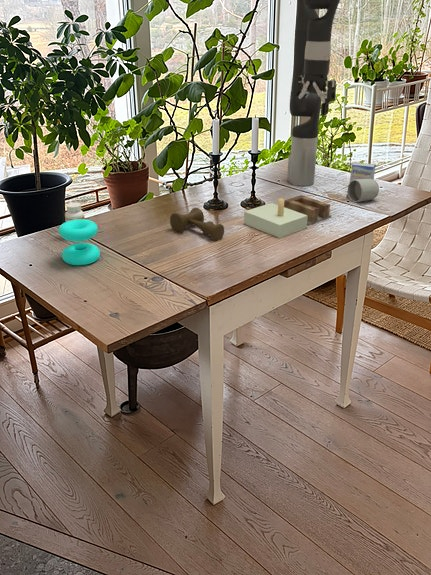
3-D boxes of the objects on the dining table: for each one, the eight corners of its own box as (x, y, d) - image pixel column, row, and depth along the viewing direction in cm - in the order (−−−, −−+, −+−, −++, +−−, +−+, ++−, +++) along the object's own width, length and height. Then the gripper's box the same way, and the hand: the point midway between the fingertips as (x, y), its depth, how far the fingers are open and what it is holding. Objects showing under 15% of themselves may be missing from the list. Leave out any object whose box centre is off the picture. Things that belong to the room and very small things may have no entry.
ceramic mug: (379, 201, 199) (381, 179, 196) (360, 205, 196) (362, 183, 192) (359, 193, 207) (361, 172, 204) (340, 196, 204) (342, 175, 201)
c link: (283, 212, 188) (284, 200, 186) (300, 206, 193) (301, 195, 191) (312, 222, 180) (313, 210, 178) (328, 216, 185) (330, 204, 183)
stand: (243, 223, 181) (244, 195, 176) (271, 214, 188) (272, 187, 183) (279, 237, 171) (280, 208, 166) (306, 227, 178) (308, 199, 173)
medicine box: (348, 188, 212) (351, 164, 208) (351, 184, 216) (353, 161, 212) (370, 190, 210) (374, 166, 206) (372, 187, 213) (375, 163, 209)
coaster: (282, 215, 187) (282, 214, 186) (305, 208, 193) (305, 206, 193) (308, 225, 179) (308, 223, 179) (331, 217, 186) (331, 215, 186)
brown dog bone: (207, 247, 166) (161, 226, 179) (230, 238, 172) (184, 219, 185) (207, 227, 164) (161, 207, 176) (231, 219, 170) (185, 201, 182)
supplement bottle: (86, 232, 174) (83, 201, 170) (86, 239, 170) (82, 207, 165) (68, 233, 173) (64, 202, 169) (67, 240, 169) (63, 208, 164)
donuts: (92, 215, 159) (101, 228, 151) (95, 249, 163) (104, 263, 155) (54, 220, 155) (61, 234, 147) (59, 255, 160) (66, 269, 152)
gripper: (291, 56, 176) (287, 111, 184) (328, 60, 167) (323, 118, 174) (307, 54, 181) (303, 108, 188) (344, 58, 171) (338, 115, 179)
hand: (313, 113), depth 181 cm, fingers open, 8 cm apart
